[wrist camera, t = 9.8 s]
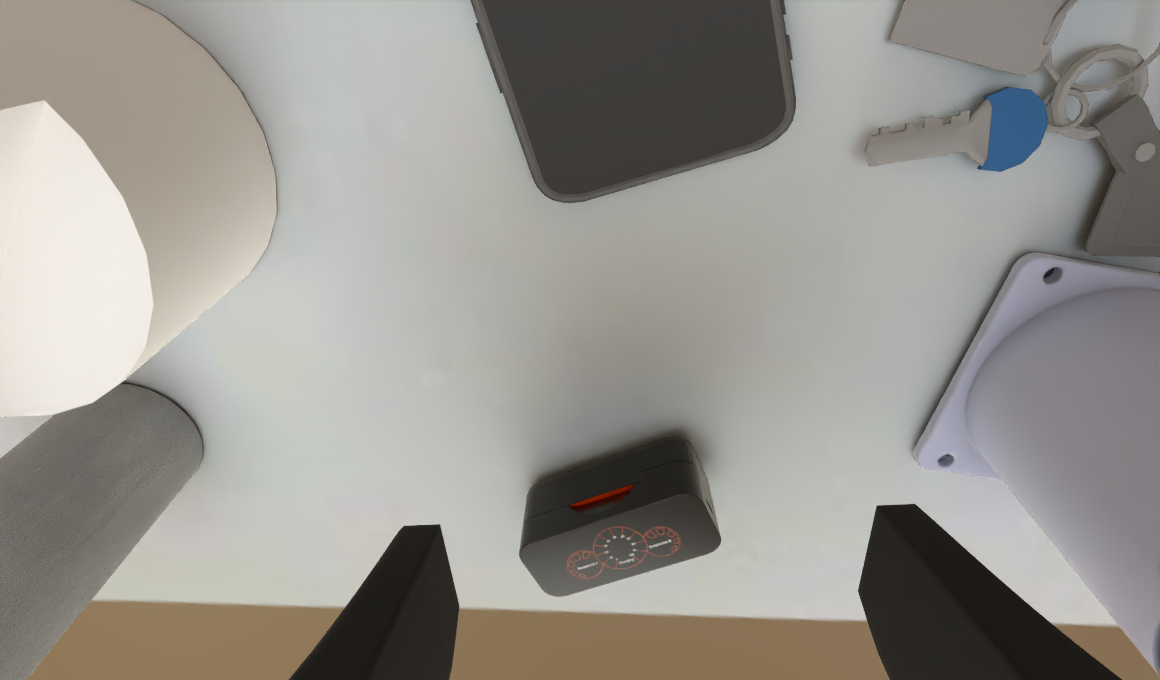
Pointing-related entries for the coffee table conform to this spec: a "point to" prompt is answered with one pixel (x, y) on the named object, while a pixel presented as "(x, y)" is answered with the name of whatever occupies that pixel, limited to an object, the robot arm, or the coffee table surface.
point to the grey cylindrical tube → (82, 510)
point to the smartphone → (637, 85)
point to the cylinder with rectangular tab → (115, 195)
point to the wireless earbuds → (618, 518)
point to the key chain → (1035, 109)
